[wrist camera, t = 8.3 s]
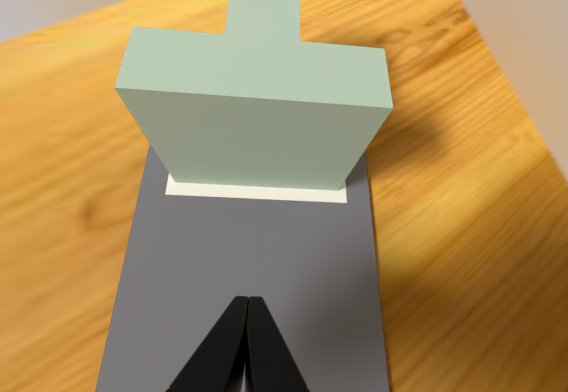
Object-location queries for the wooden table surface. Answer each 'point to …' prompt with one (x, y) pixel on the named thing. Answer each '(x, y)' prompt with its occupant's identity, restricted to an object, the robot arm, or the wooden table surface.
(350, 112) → the t block
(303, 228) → the mat
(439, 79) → the wooden table surface
